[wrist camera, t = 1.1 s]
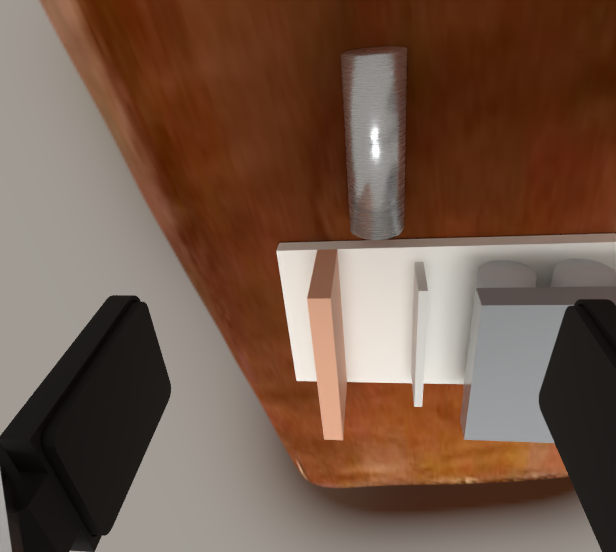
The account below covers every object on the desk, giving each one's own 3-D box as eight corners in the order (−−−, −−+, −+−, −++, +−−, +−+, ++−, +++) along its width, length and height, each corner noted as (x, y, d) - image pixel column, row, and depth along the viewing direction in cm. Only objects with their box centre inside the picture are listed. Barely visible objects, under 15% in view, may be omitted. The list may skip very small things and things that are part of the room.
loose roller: (390, 44, 22) (419, 49, 20) (390, 211, 27) (413, 232, 25) (332, 52, 22) (354, 58, 19) (342, 222, 27) (361, 244, 24)
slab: (695, 285, 22) (714, 304, 20) (635, 424, 27) (647, 446, 26) (475, 288, 23) (481, 305, 22) (460, 419, 29) (464, 439, 27)
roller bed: (796, 228, 24) (906, 293, 19) (717, 377, 30) (785, 457, 25) (279, 242, 28) (259, 299, 23) (298, 371, 34) (285, 437, 29)
